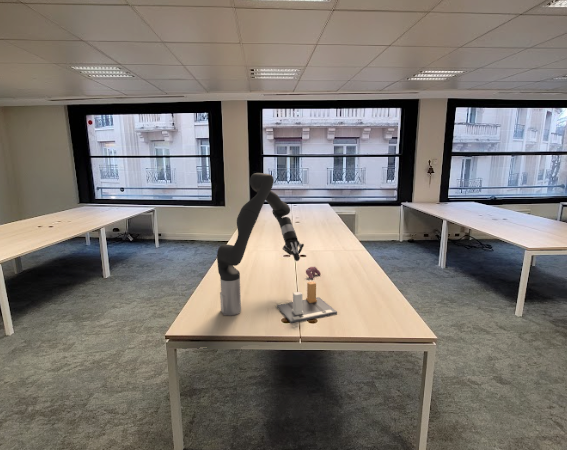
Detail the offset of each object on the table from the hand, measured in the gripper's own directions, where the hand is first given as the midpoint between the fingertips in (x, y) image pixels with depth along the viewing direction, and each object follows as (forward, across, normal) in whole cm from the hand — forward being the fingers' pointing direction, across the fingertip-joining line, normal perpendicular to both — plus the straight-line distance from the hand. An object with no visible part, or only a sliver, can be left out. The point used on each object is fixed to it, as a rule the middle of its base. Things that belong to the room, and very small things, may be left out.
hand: (297, 260), depth 179 cm
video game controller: (+1, +19, +25) cm, 31 cm away
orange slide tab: (+24, 0, 0) cm, 24 cm away
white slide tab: (+30, -12, -7) cm, 33 cm away
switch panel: (+29, -6, -4) cm, 30 cm away
